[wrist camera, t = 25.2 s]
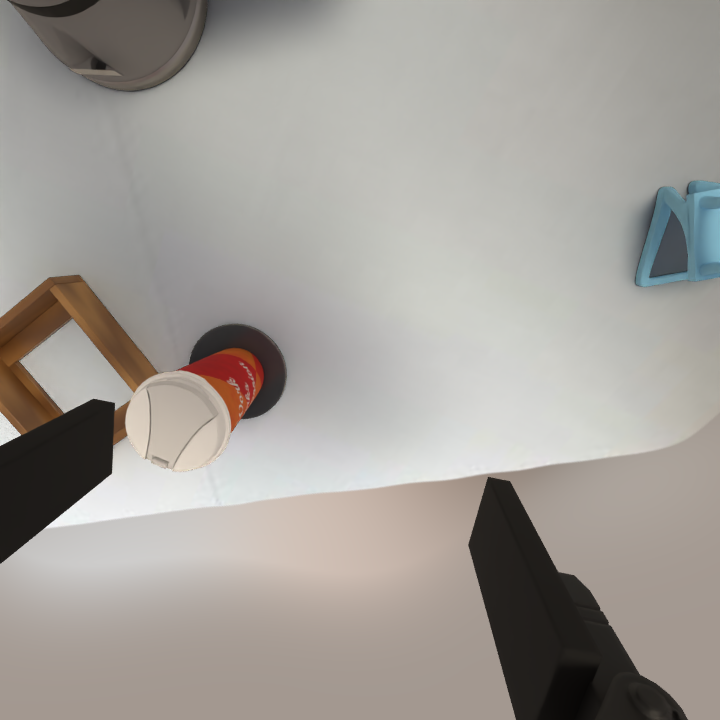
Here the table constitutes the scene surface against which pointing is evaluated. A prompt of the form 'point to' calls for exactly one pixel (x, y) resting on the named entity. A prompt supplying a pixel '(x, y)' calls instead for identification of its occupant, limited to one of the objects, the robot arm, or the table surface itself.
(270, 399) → the coaster
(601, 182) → the table surface
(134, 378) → the wooden frame
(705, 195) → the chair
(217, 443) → the paper cup
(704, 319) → the table surface
